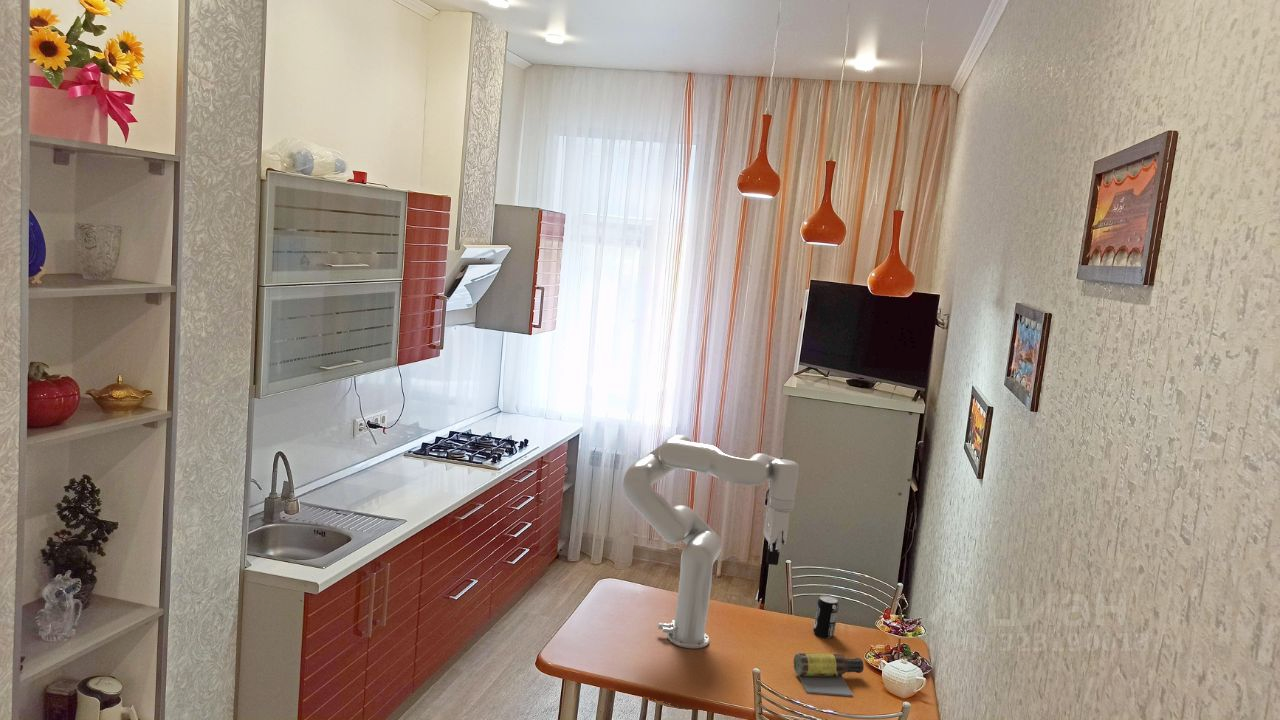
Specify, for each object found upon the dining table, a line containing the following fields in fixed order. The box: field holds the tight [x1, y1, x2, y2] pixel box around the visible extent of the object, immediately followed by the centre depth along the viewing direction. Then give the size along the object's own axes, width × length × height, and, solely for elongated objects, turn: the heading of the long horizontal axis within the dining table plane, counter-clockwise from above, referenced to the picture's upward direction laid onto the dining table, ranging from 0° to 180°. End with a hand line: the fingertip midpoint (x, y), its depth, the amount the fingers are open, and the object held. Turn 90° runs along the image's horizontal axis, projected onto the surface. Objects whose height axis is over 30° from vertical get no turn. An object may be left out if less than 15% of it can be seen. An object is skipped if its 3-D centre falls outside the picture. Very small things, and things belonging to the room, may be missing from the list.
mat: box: [797, 674, 854, 697], centre depth 261 cm, size 13×15×1 cm
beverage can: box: [813, 594, 839, 639], centre depth 292 cm, size 7×7×12 cm
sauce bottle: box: [793, 652, 864, 676], centre depth 264 cm, size 6×6×20 cm
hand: (771, 563), depth 267 cm, fingers closed
